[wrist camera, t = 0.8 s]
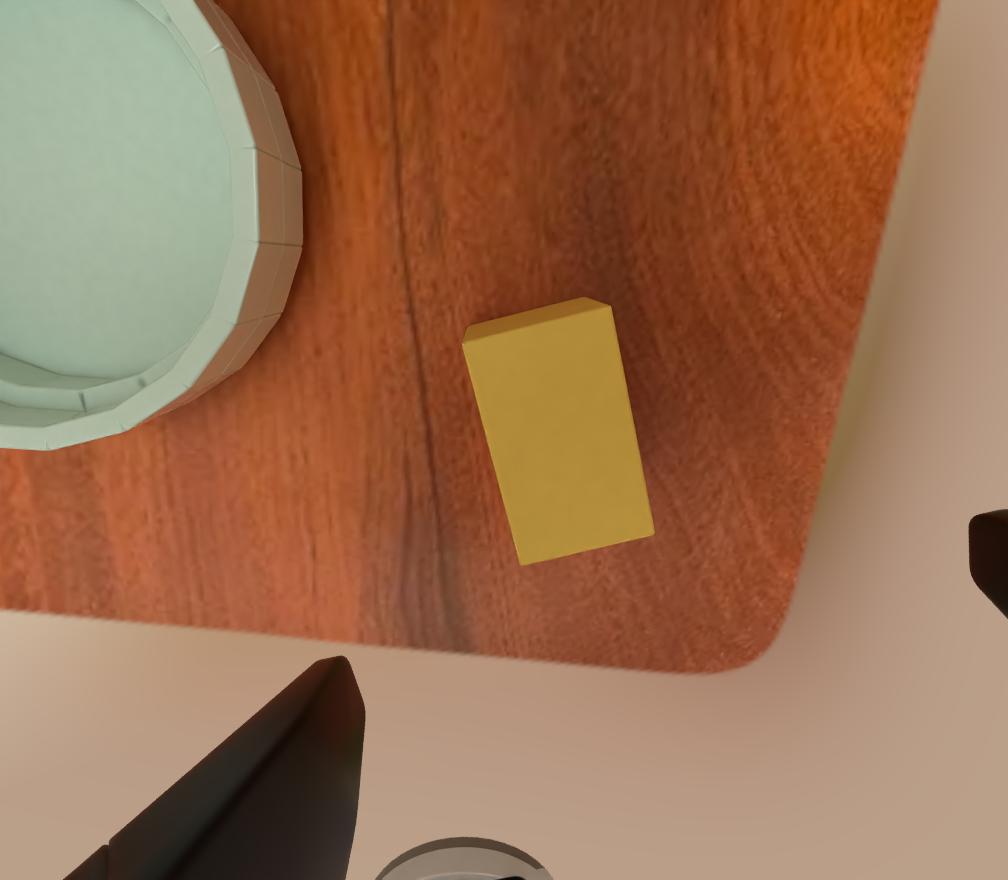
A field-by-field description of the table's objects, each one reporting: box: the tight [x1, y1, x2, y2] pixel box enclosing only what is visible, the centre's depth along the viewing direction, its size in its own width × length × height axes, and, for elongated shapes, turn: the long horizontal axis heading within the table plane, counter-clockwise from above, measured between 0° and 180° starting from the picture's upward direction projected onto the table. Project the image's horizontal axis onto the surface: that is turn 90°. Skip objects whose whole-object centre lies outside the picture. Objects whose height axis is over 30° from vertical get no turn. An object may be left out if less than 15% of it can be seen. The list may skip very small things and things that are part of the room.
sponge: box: [462, 297, 655, 566], centre depth 17 cm, size 6×4×4 cm, turn 14°
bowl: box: [0, 0, 303, 451], centre depth 15 cm, size 12×12×4 cm
